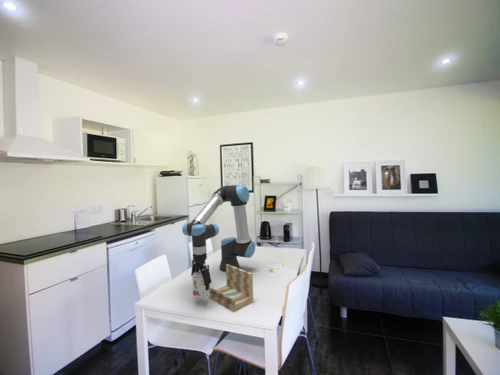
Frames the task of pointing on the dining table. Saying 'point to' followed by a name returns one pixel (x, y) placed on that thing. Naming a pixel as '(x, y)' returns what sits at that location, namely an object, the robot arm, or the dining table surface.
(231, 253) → the robot arm
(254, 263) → the dining table surface
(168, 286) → the dining table surface
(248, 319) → the dining table surface
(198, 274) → the ink box
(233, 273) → the wooden holder
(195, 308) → the dining table surface
